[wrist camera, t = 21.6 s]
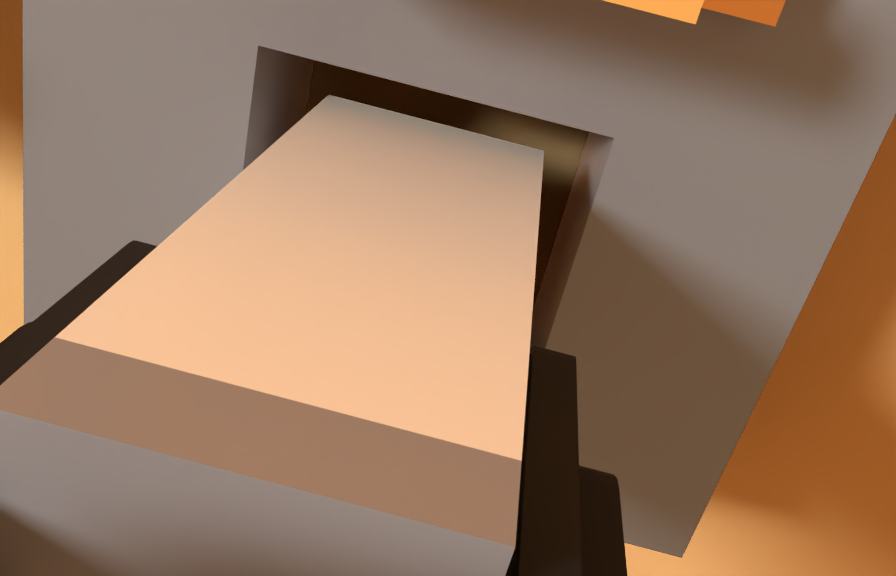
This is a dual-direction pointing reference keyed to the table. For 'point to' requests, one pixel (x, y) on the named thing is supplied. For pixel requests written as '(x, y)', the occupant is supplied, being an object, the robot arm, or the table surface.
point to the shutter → (710, 8)
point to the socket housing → (529, 93)
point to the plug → (296, 372)
